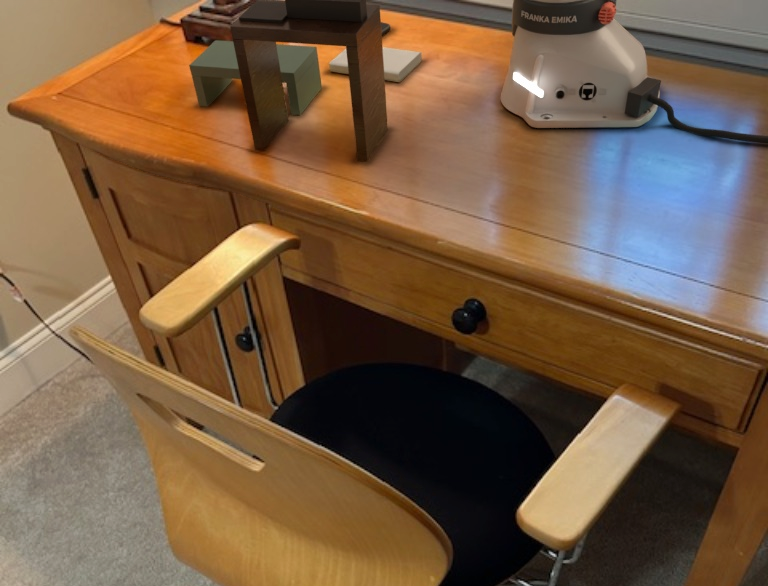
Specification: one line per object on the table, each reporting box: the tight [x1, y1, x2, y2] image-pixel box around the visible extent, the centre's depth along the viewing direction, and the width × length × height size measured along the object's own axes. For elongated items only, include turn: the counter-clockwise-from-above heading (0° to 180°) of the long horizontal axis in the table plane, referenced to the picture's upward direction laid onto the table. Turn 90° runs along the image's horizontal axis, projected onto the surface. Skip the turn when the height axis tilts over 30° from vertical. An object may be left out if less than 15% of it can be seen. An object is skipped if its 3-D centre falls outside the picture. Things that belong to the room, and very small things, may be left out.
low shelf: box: [188, 39, 323, 116], centre depth 120 cm, size 17×9×6 cm, turn 71°
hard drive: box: [328, 46, 423, 83], centre depth 126 cm, size 2×8×12 cm
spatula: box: [238, 0, 367, 23], centre depth 99 cm, size 16×6×2 cm, turn 71°
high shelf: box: [229, 0, 389, 163], centre depth 106 cm, size 17×9×16 cm, turn 71°
